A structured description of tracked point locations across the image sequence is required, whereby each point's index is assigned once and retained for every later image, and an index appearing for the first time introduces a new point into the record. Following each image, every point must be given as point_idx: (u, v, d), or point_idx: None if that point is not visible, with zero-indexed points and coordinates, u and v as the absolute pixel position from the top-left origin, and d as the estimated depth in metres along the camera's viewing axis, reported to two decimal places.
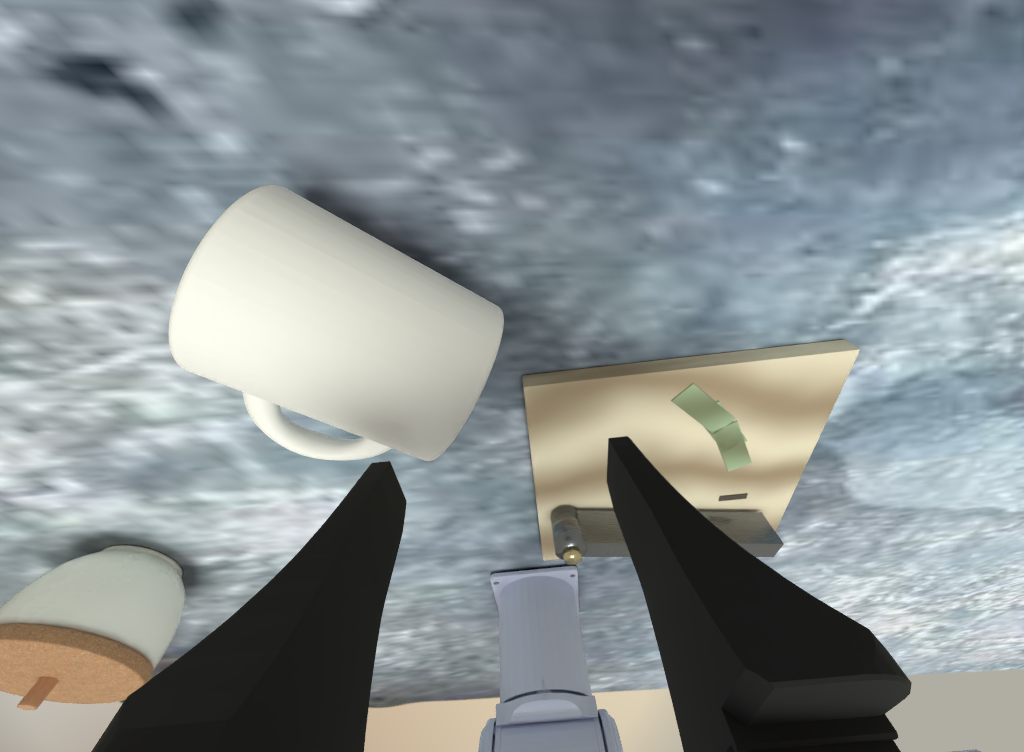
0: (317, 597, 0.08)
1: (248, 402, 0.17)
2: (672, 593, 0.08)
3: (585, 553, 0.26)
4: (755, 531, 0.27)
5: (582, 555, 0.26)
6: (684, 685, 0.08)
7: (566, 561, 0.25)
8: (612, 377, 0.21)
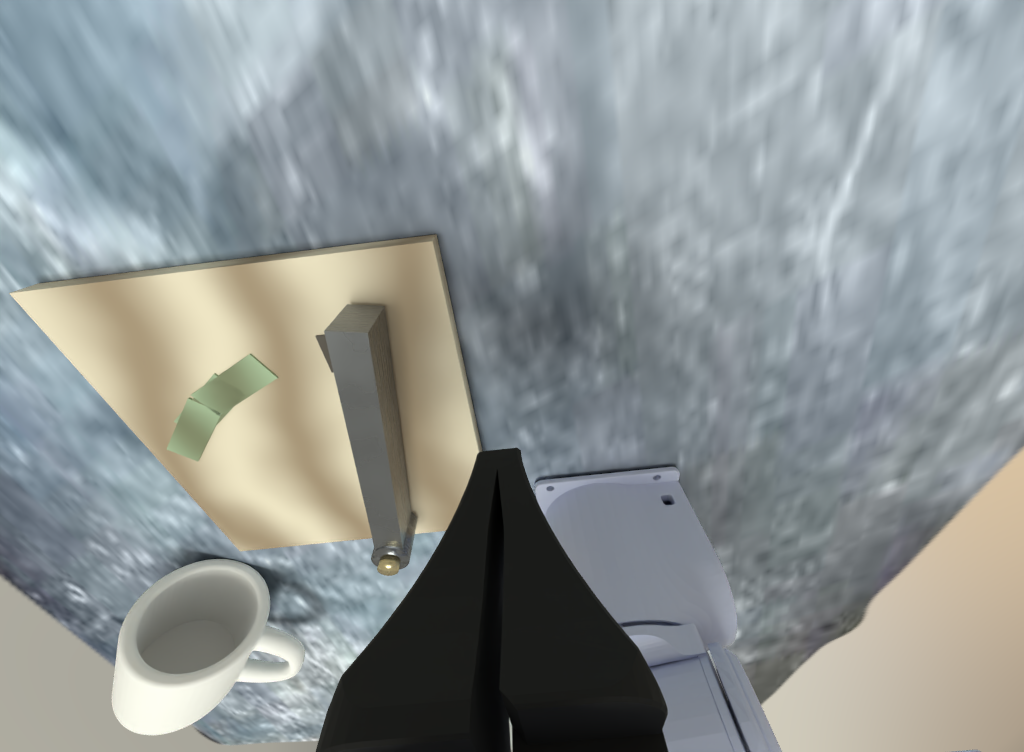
0: (484, 581, 0.08)
1: (258, 682, 0.30)
2: None
3: (393, 549, 0.22)
4: None
5: (397, 551, 0.22)
6: None
7: (392, 573, 0.22)
8: (198, 504, 0.23)
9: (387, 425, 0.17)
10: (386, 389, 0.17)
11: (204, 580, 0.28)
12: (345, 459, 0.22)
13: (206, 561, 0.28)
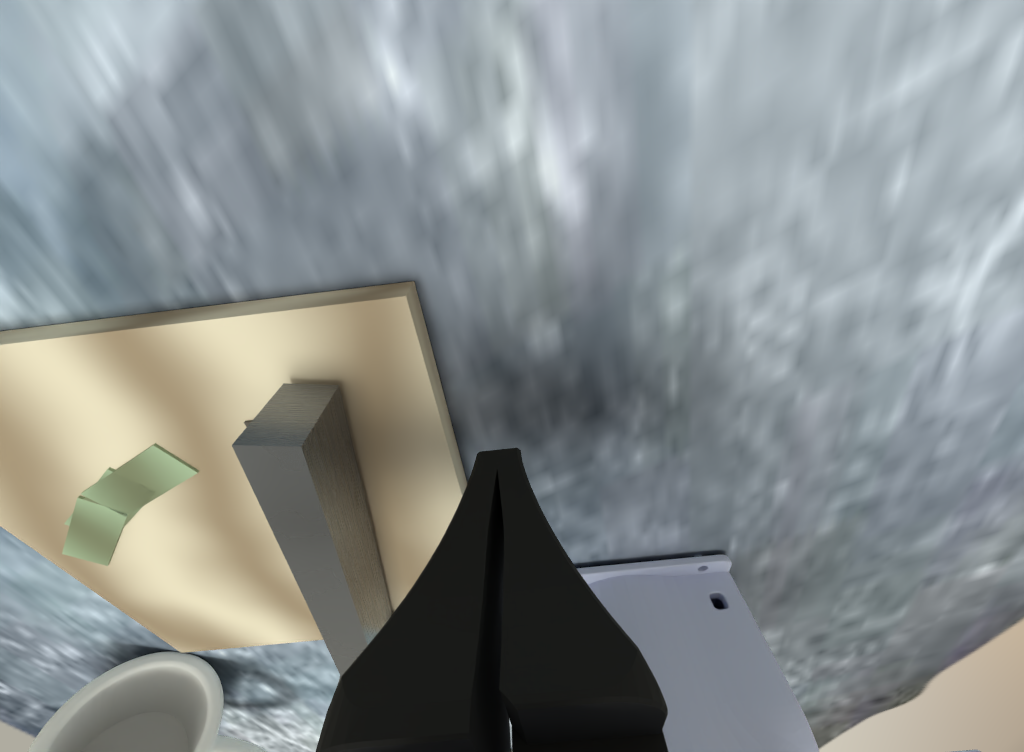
0: (484, 581, 0.08)
1: None
2: None
3: None
4: None
5: None
6: None
7: None
8: (119, 608, 0.18)
9: (346, 546, 0.12)
10: (344, 499, 0.12)
11: (143, 678, 0.23)
12: None
13: (144, 657, 0.23)
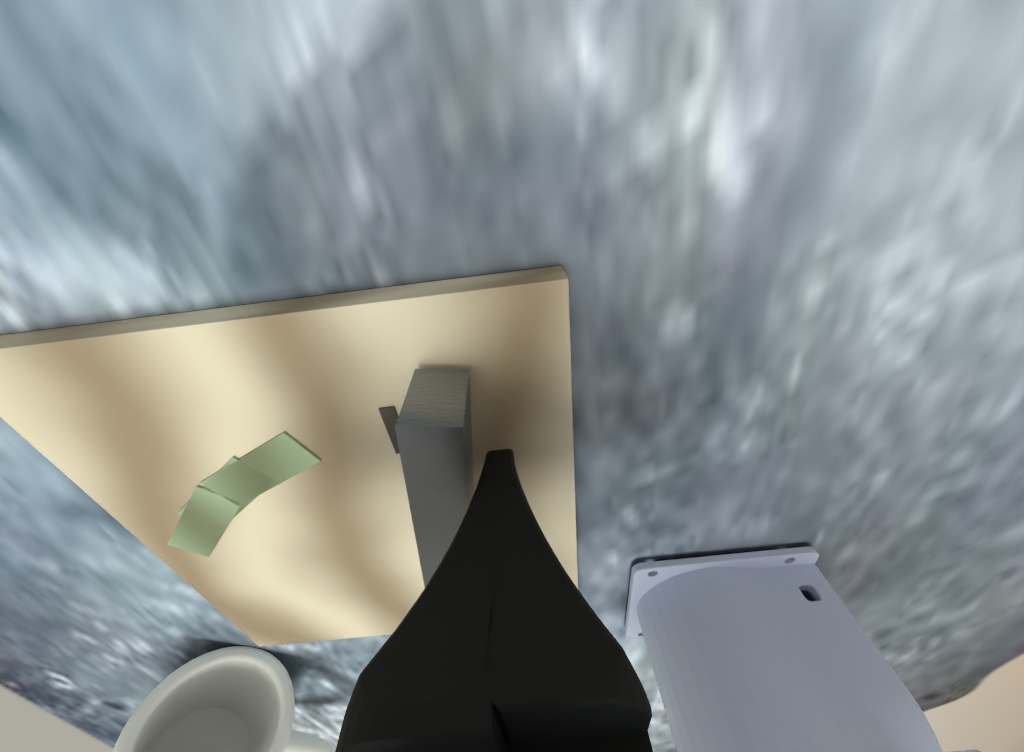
0: (499, 580, 0.08)
1: None
2: None
3: None
4: None
5: None
6: None
7: None
8: (208, 600, 0.18)
9: None
10: (470, 486, 0.12)
11: (214, 673, 0.23)
12: (401, 551, 0.16)
13: (216, 652, 0.23)
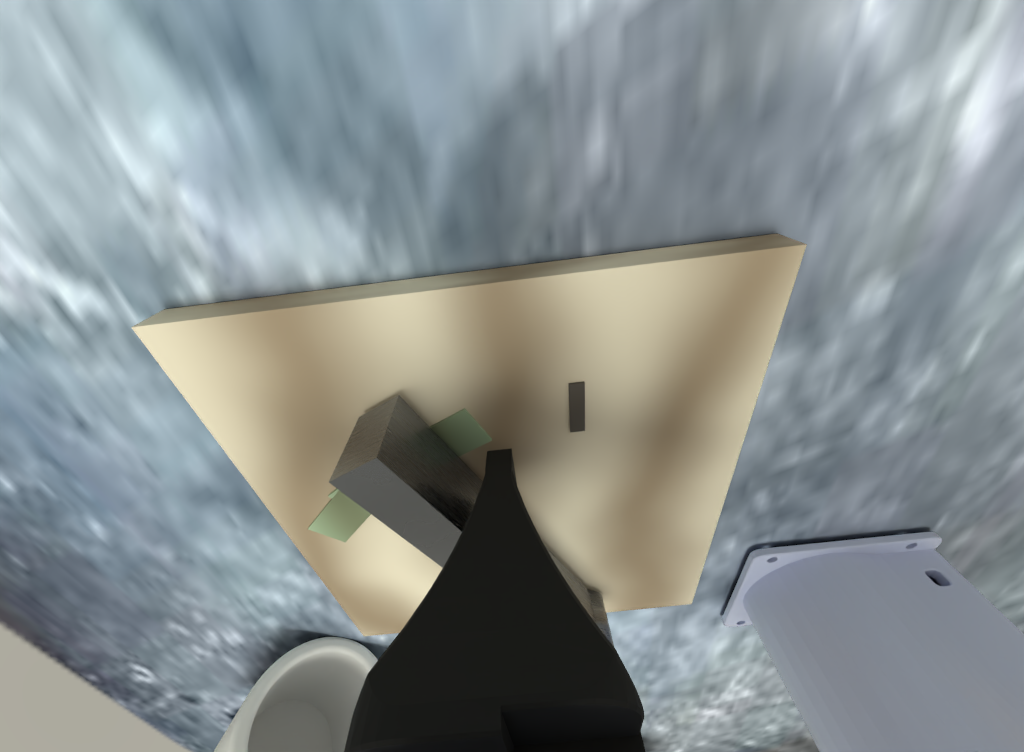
0: (505, 579, 0.08)
1: None
2: None
3: None
4: None
5: None
6: None
7: None
8: (328, 588, 0.18)
9: None
10: (461, 495, 0.12)
11: (307, 664, 0.23)
12: None
13: (312, 642, 0.22)
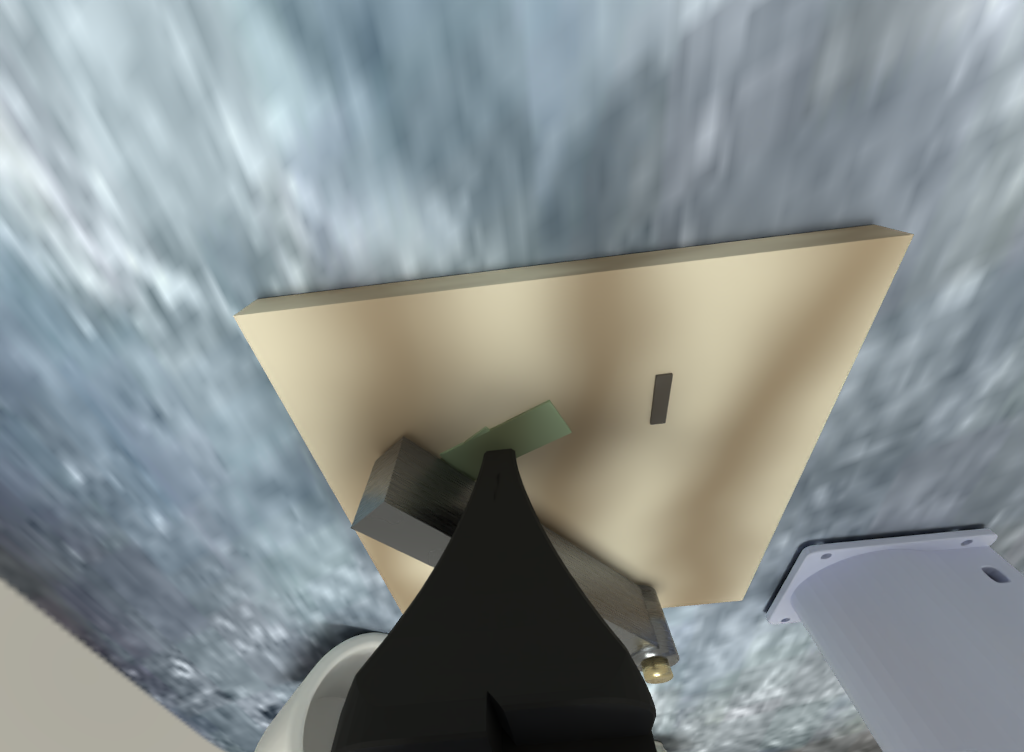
0: (495, 580, 0.08)
1: None
2: None
3: (647, 652, 0.16)
4: None
5: (653, 652, 0.16)
6: None
7: (667, 679, 0.16)
8: (385, 583, 0.18)
9: None
10: None
11: (351, 660, 0.23)
12: (602, 530, 0.16)
13: (357, 638, 0.22)
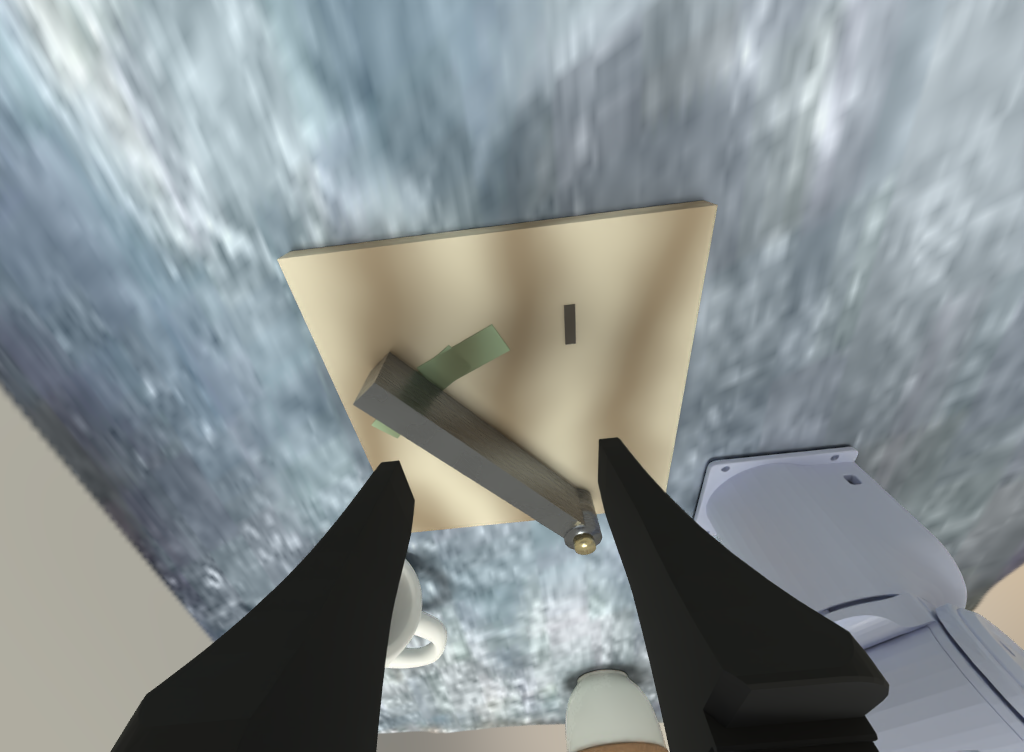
0: (331, 596, 0.08)
1: None
2: (658, 594, 0.08)
3: (576, 528, 0.21)
4: None
5: (581, 528, 0.21)
6: (669, 686, 0.08)
7: (592, 550, 0.21)
8: None
9: (466, 436, 0.18)
10: (443, 410, 0.18)
11: None
12: (542, 436, 0.21)
13: None
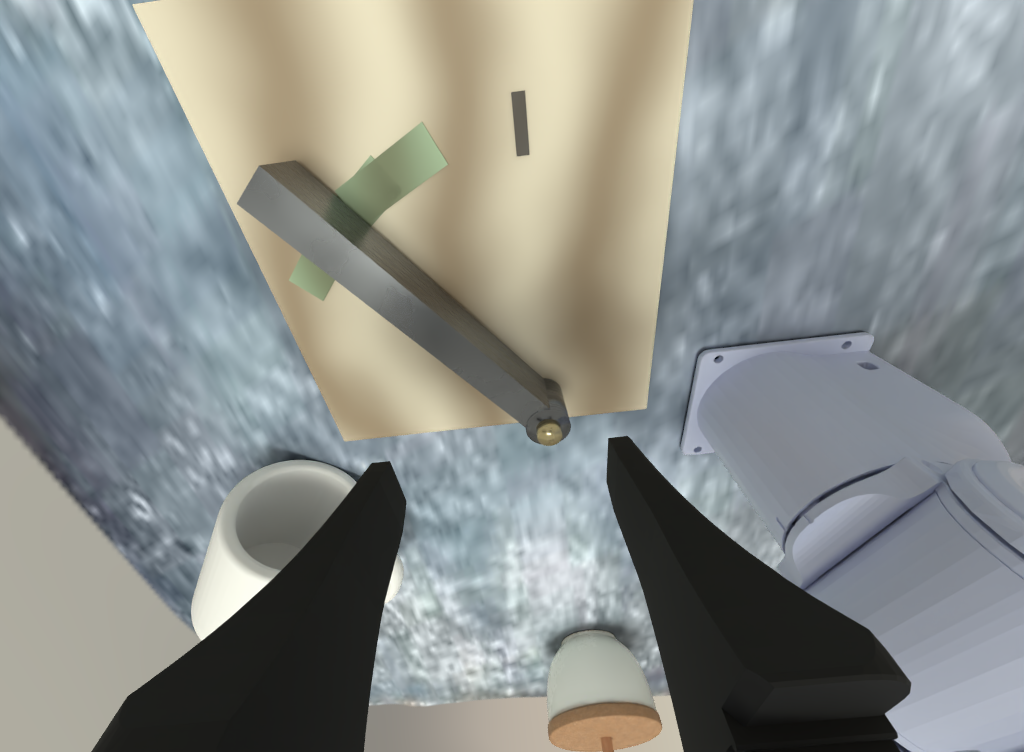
0: (317, 597, 0.08)
1: None
2: (672, 593, 0.08)
3: (538, 412, 0.18)
4: None
5: (544, 412, 0.18)
6: (684, 685, 0.08)
7: (558, 438, 0.18)
8: (310, 369, 0.19)
9: (394, 271, 0.14)
10: (364, 237, 0.14)
11: (293, 485, 0.24)
12: (498, 302, 0.18)
13: (298, 460, 0.24)
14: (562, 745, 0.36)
